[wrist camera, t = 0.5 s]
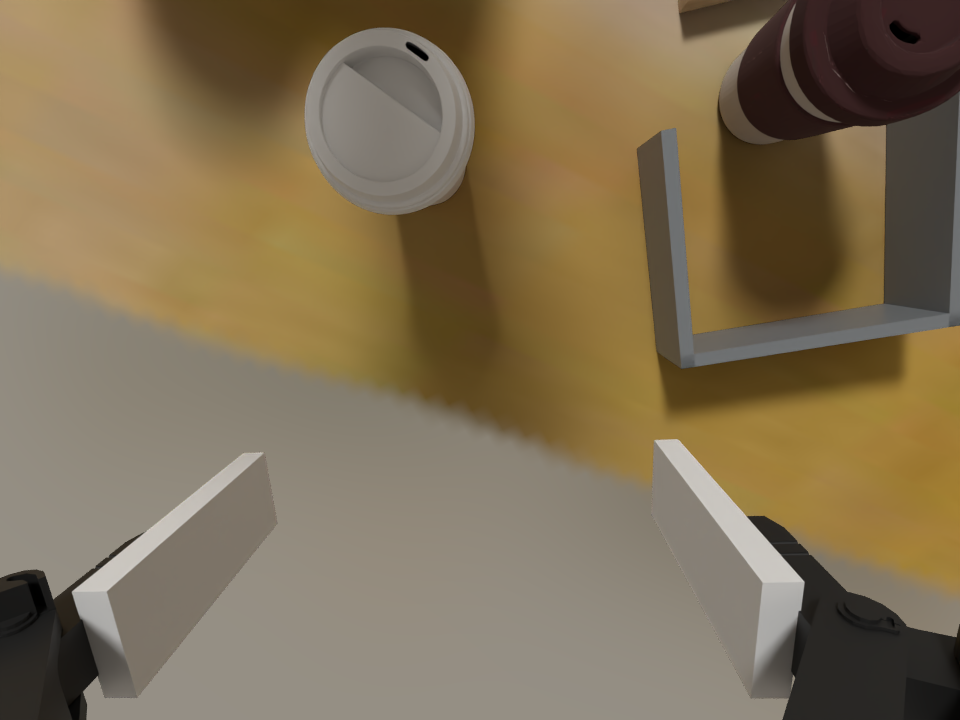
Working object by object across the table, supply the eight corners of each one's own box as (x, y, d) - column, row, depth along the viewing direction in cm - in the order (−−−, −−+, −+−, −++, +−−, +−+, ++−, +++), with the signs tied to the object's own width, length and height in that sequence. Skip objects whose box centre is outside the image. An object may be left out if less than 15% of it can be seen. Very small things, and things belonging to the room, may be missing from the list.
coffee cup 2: (804, -6, 35) (1019, -186, 20) (849, 121, 37) (1077, 39, 22) (678, 69, 36) (795, -49, 22) (727, 187, 38) (865, 151, 24)
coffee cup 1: (506, 181, 39) (507, 142, 24) (413, 246, 41) (362, 247, 26) (441, 75, 37) (401, -34, 23) (346, 147, 39) (253, 88, 24)
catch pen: (637, 148, 38) (660, 130, 32) (900, 95, 36) (977, 66, 30) (656, 351, 42) (681, 368, 36) (896, 313, 40) (963, 324, 34)
